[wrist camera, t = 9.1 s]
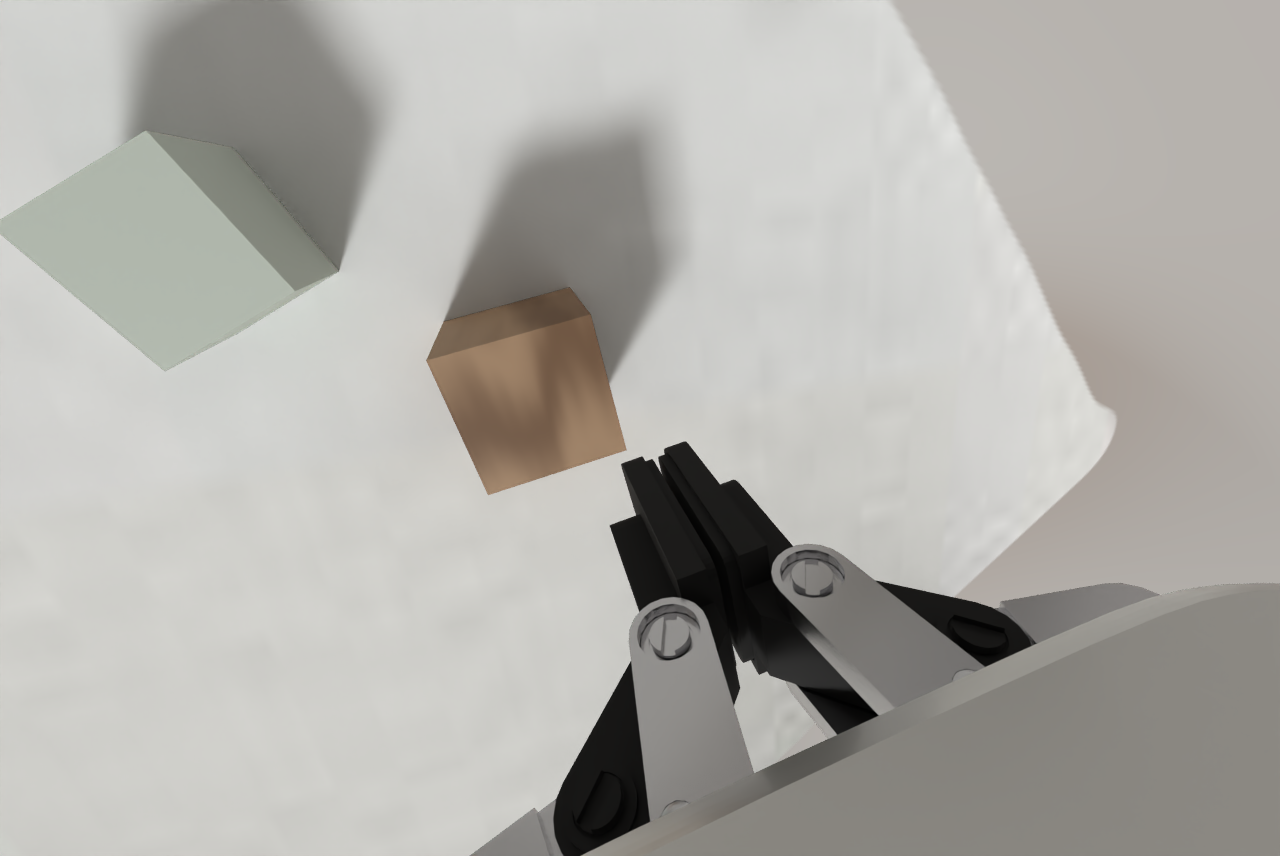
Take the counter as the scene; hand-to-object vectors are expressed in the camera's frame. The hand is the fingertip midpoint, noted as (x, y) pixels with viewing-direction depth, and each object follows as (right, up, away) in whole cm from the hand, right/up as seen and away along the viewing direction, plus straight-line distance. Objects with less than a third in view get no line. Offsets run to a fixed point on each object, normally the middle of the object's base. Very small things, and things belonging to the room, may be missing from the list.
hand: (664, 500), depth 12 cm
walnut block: (-3, +5, +10) cm, 11 cm away
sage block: (-17, +9, +7) cm, 20 cm away
